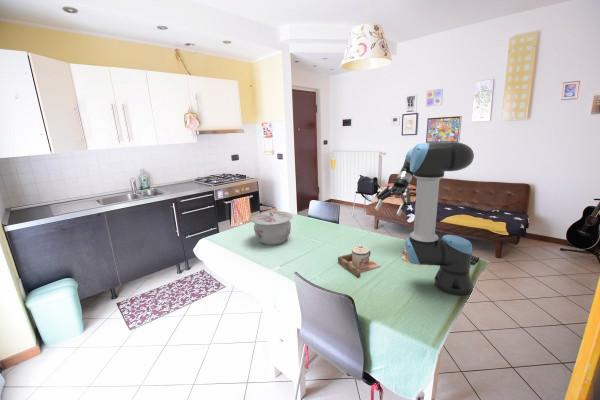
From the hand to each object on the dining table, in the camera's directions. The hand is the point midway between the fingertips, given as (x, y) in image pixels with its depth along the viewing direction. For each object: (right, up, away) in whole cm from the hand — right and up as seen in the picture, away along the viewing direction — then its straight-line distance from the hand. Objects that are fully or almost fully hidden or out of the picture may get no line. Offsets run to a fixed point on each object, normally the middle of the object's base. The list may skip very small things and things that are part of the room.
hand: (386, 212), depth 154 cm
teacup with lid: (-14, -28, -4) cm, 32 cm away
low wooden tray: (-16, -28, -5) cm, 33 cm away
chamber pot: (-66, -21, +34) cm, 77 cm away
